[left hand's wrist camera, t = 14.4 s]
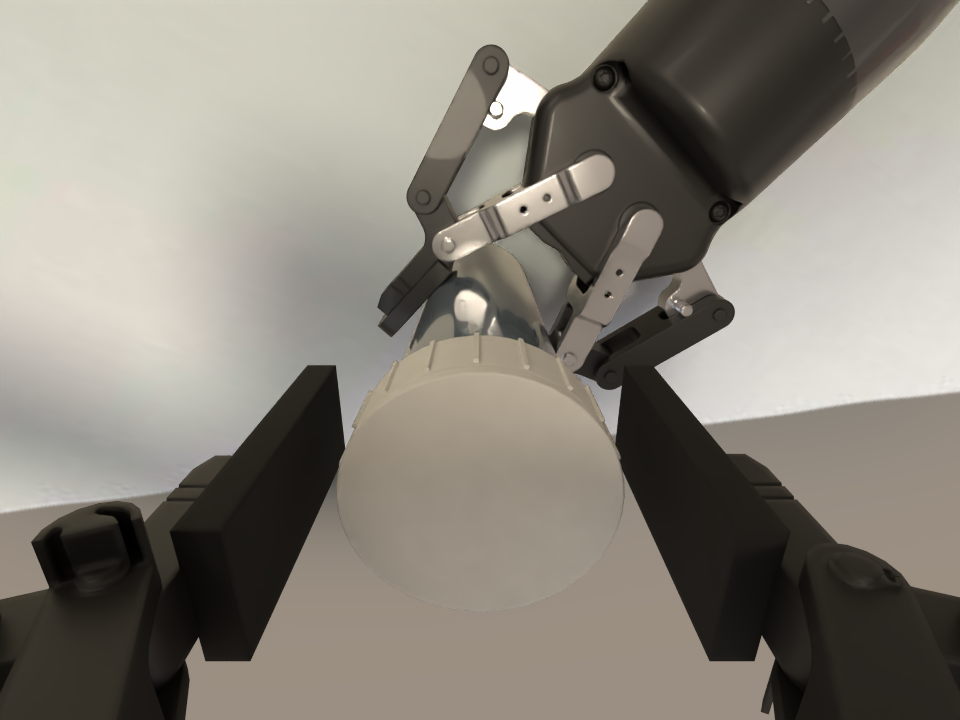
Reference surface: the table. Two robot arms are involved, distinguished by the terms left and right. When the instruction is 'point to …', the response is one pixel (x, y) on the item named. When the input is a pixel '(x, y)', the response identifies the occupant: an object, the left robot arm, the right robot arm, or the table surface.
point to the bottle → (482, 303)
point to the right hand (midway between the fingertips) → (439, 368)
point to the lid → (480, 476)
